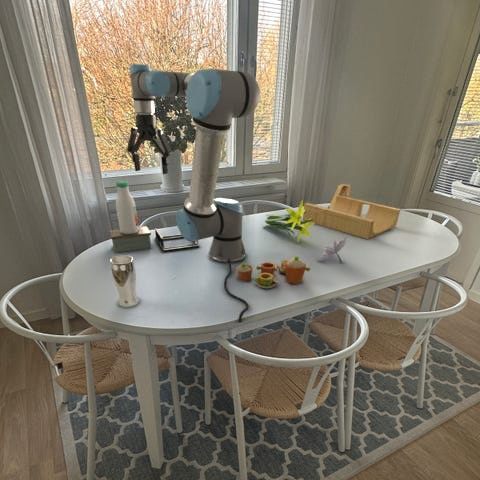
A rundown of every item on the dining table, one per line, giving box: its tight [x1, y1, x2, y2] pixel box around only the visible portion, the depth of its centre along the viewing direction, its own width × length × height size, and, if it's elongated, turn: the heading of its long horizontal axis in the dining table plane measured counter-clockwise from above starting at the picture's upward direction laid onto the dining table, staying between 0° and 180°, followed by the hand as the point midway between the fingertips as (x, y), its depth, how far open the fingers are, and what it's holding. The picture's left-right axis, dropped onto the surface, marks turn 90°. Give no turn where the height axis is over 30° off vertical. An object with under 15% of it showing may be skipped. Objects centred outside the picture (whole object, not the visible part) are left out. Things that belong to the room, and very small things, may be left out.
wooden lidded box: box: [108, 226, 152, 254], centre depth 148 cm, size 9×16×7 cm, turn 114°
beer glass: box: [109, 254, 140, 308], centre depth 107 cm, size 7×7×15 cm
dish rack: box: [154, 227, 200, 253], centre depth 154 cm, size 17×16×6 cm
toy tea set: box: [236, 255, 311, 289], centre depth 125 cm, size 26×16×10 cm, turn 112°
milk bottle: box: [115, 180, 140, 234], centre depth 141 cm, size 8×8×20 cm
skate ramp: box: [302, 180, 402, 240], centre depth 184 cm, size 40×35×16 cm
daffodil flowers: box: [262, 200, 316, 243], centre depth 163 cm, size 17×15×35 cm
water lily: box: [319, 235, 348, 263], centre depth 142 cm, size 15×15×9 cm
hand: (151, 172), depth 146 cm, fingers open, 13 cm apart
